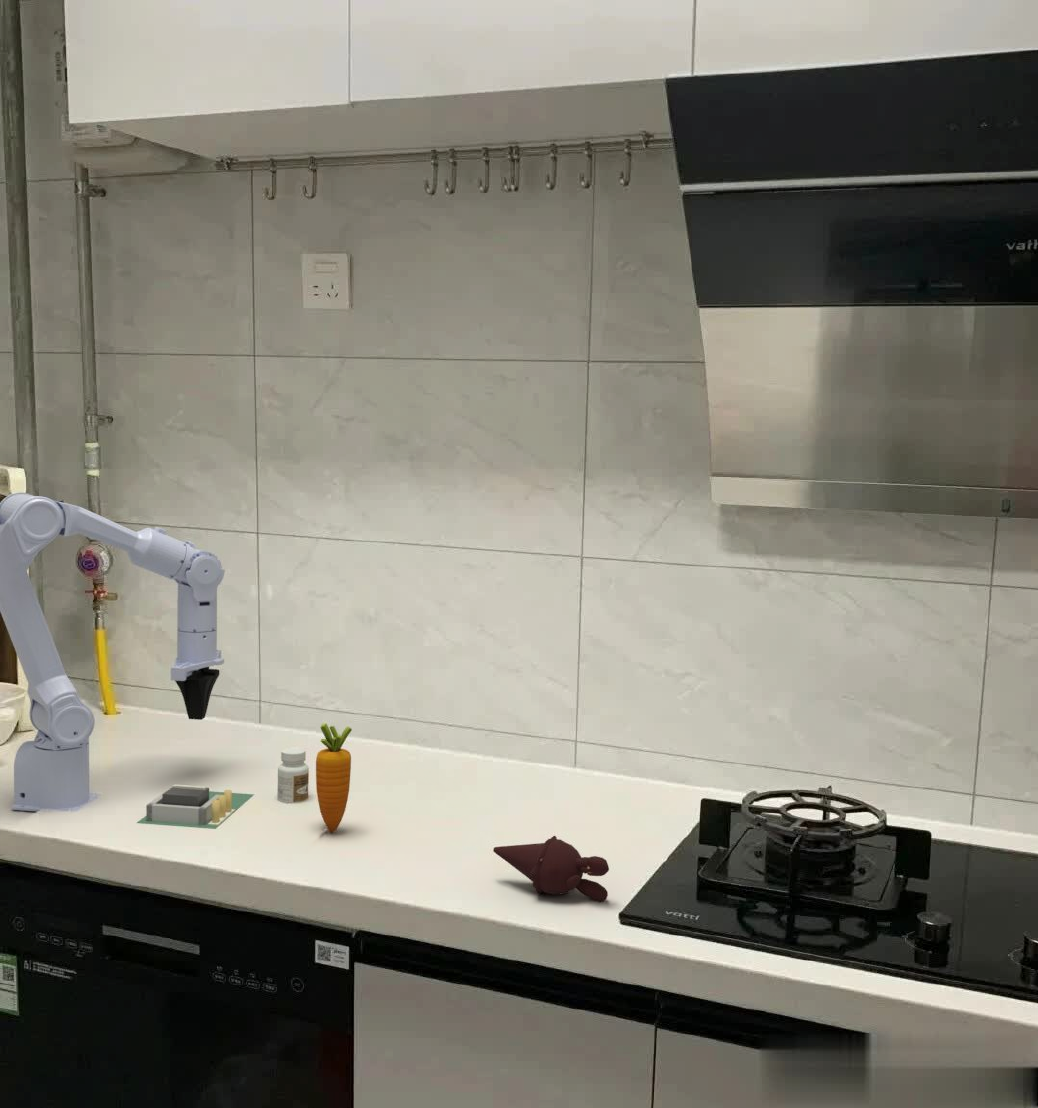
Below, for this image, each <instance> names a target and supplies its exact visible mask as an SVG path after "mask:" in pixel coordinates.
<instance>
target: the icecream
mask: <svg viewBox="0 0 1038 1108" xmlns="http://www.w3.org/2000/svg"><path fill="white" fill-rule="evenodd" d="M493 852H494V853H495V854H496V855H497V856H498V857H500V858H501V859H503V860H504V861H506V863H508V864H509V865H510V866H512V867H513V868H514V869H516V870H517V871H518V872H519V873H521V874H522V875H523V876H525V877H526V878H527V879H529V880H530V881H531V882H532V887H533V888H534V889H535V893H536V894H537V895H540V893H541V894H542V892H544V893H546V894H547V895H548V894H549V895H559V896H560V895H563V894H565V895H566V894H568V893H570V892H572V891H574V890H575V889H576V891H578V892H579V893H580V894H581V895H584V897H587V898H589V900H592V901H597V902H604V901H606V900H607V898H608V896H609V894H608V890H607V889H606V888H605V886H603V885H602V884H600V883H599V882H597V881H594V880H590V879H587V878H583V876H584V874H585V875H586V874H587V876H589V877H590V876H591V877H602V876H605V875H606V874H607V873H608V872H609V870H610V866H609V864H608V861H607V859H605V858H604V857H602V856H601V857H600V856H598V855H597V856H596V855H594V856H589V857H588V856H584V857H582V855H581V854H580V852H579V851H578V849H576V848H575V847H574V846H573V845H572V844H570V843H568V842H566V841H564V840H562V839H560V838H559V839H558V838H557V836H556V835H553V836H552V837H550V838H548V839H546V841H544V842H541V843H539V842H538V843H527V844H516V845H503V846H495V847H493Z"/></svg>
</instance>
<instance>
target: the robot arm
mask: <svg viewBox="0 0 1038 1108" xmlns="http://www.w3.org/2000/svg"><path fill="white" fill-rule="evenodd" d="M78 534H79V535H82V536H84V537H86V538H89V539H92V540H95V541H97V542H100V543H103V544H106V545H109V546H111V547H113V548H116V549H120V550H122V551H125V552H126V553H127V556H128V557H129V561H130V563H131V564H133V565H134V566H137V567H139V568H141V569H145V570H146V571H149V572H151V573H154V574H157V575H159V576H162V577H164V578H167V579H170V580H174V582H176V584H177V601H176V602H177V605H176V607H177V620H176V621H177V625H176V626H177V630H176V631H177V632H176V636H177V638H176V645H177V648H176V649H177V650H176V652H177V654H176V656H177V657H176V658H175V660H174V664H173V665H172V666H171V667H170V681H174V682H175V683H176V684H177V686H178V689H179V691H180V693H181V695H182V699H183V702H184V706H185V710H186V715H187V717H188V720H197V721H199V720H203V719H205V717H206V715H207V711H208V707H209V702H210V699H211V694H212V691H213V689H214V686H215V684H216V682H217V680H218V678H219V676H220V670H219V669H218V668H217V669H216V668H215V669H214V668H210V667H212V666H221V665H223V664H225V658H223V657H222V649H217V645H218V643H217V642H218V641H217V640H218V637H217V636H218V587H219V585H220V584H221V583H222V581H223V580H224V577H225V572H226V571H225V569H223V567H222V562H221V561H220V559H218V556H217V555H215V554H214V553H212V552H211V551H206V550H202V549H198V548H196V547H195V545H196V544H195V543H194V542H192V541H189V540H186V541H185V542H184V541H181V540H179V539H177V538H174V537H173V536H169V535H167V530H166V529H164V528H161V527H159V526H155V527H154V528H152V527H146V528H145V527H144V528H143V529H140V530H138V531H134V530H132V529H130V528H128V527H125V526H123V525H121V524H119V523H117V522H115V521H112V520H110V519H108V518H106V517H104V516H102V515H99V514H97V513H95V512H92V511H90V510H88V509H87V508H84V507H81V506H79V505H75V504H70V503H66V502H61V501H58V500H53V499H51V498H49V497H46V496H41V495H40V496H37V495H32V494H30V493H28V492H14V493H11V494H9V495H7V496H6V497H5V498H3V499H2V500H1V501H0V614H1V617H2V620H3V622H4V625H5V627H6V630H7V633H8V635H9V638H10V640H11V643H12V646H13V647H14V650H15V653H16V655H17V658H18V660H19V663H20V665H21V668H22V671H23V673H24V675H25V678H26V681H27V683H28V686H27V690H26V691H27V695H28V697H29V700H30V705H29V706H30V707H29V720H30V722H31V725H32V726H33V727H34V728H35V729H36V730H37V732H36V735H35V737H34V739H33V740H27V741H24V742H23V743H22V744H21V745H20V746H19V747H18V749H17V750H16V753H15V758H14V762H13V787H14V788H13V793H14V794H13V795H14V798H13V799H14V800H13V801H14V802H13V803H14V804H13V805H11V810H15V811H25V812H26V811H27V812H39V811H41V810H46V811H57V812H58V811H59V812H70V813H71V812H78V811H79V810H81V809H83V808H84V807H85V806H87V805H88V804H89V803H91V802H93V801H95V800H97V799H98V798H99V797H101V796H102V794H101V793H96V792H95V793H93V792H90V736H91V735H92V733H93V731H94V728H95V715H94V713H93V711H92V710H91V709H90V707H89V706H87V704H85V703H83V701H82V700H81V698H80V696H79V693H78V692H77V690H76V688H75V686H74V685H73V683H72V681H70V679H69V677H68V675H67V674H66V671H65V668H64V666H63V664H62V660H61V657H60V654H59V652H58V648H57V647H56V644H55V641H54V639H53V637H52V633H51V631H50V627H49V625H48V623H47V620H46V618H45V614H44V613H43V609H42V607H41V605H40V602H39V600H38V599H39V598H38V596H37V594H36V591H35V589H34V586H33V583H32V580H31V578H30V576H29V573H28V569H29V567H30V566H31V565H32V563H33V561H34V559H35V558H36V556H37V555H38V553H39V552H40V551H41V550H42V549H44V548H45V547H46V546H47V545H49V543H51V542H52V541H53V540H54V539H55V538H56V537H57V536H62V537H69V536H75V535H78Z"/></svg>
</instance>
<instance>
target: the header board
mask: <svg viewBox="0 0 1038 1108" xmlns="http://www.w3.org/2000/svg"><path fill="white" fill-rule="evenodd" d="M166 791H167V790H165V791H164V792H163V793H165V792H166ZM163 793H162V794H163ZM162 794H160V795H158V796H156V798H154V799H153V800H151V801H150V802H149V803H147V804H146V807H145V808H146V815H145V816H143V817H142V818H141V819H139V820H138V821H137V822H136V824H146V825H158V826H168V827H169V826H172V827H185V828H197V829H212V830H213V829H214V830H216V829H217V828H218V827H219V826H221V825H222V824H223V823H224V822H225V821H226V820H227V819H229V817H231V816H232V815H233V814H234V813H235V812H236V811H238V809H239V808H241V807H243V805H244V804H246V802H248V801H249V800H250V799H251V798H252V797H254V796H255V794H252V793H242V792H240V793H239V792H238V793H237V792H232V790H230V789H225V790H224V791H211V790H209V801H208V802H206V803H205V804H204V805H203V806H201V807H194V806H181V805H167V804H162Z"/></svg>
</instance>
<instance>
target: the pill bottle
mask: <svg viewBox="0 0 1038 1108" xmlns="http://www.w3.org/2000/svg"><path fill="white" fill-rule="evenodd" d="M280 753H281V756H280V759H281V762H282V763H281V764H280V765H278V767H277V801H278V802H280V803H283V804H300V803H305V802H306V801H308V799H309V783H310V782H309V779H310V778H309V777H310V774H309V772H310V771H309V769H310V768H309V765H308V764H307V763H306V749H304V748H302V747H296V746H295V747H292V746H291V747H286V748H283V749H282V750H281V752H280Z"/></svg>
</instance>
